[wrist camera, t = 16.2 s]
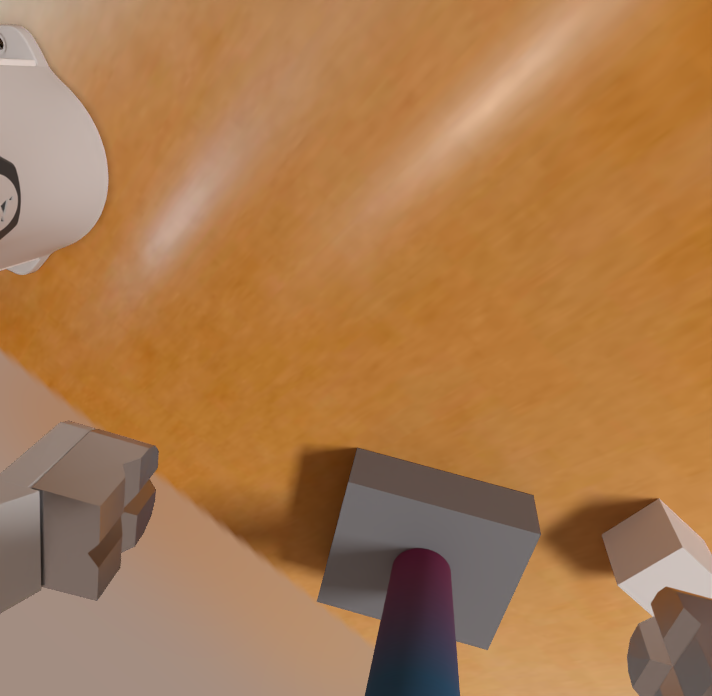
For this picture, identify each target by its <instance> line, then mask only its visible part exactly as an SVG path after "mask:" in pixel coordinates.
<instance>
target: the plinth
mask: <svg viewBox="0 0 712 696" xmlns="http://www.w3.org/2000/svg"><path fill="white" fill-rule="evenodd" d="M540 535H541V533H540V527H539V522H538V517H537V511H536V506H535V501H534V495H530V494H526V493H523V492H519V491H515V490H512V489H508V488H504V487H500V486H497V485H493V484H489V483H486V482H482V481H478V480H475V479H471V478H467V477H463V476H460V475H456V474H452V473H449V472H445V471H441V470H438V469H434V468H430V467H427V466H423V465H419V464H415V463H412V462H408V461H404V460H401V459H397V458H393V457H390V456H386V455H382V454H378V453H375V452H371V451H367V450H364V449H360V448H357V451H356V455H355V458H354V462H353V466H352V470H351V474H350V477H349V481H348V485H347V489H346V493H345V496H344V500H343V504H342V508H341V512H340V515H339V519H338V523H337V527H336V531H335V535H334V538H333V542H332V546H331V550H330V554H329V557H328V561H327V565H326V569H325V573H324V576H323V580H322V584H321V588H320V592H319V596H318V599H317V602H320V603H323V604H327V605H331V606H334V607H338V608H341V609H345V610H348V611H352V612H355V613H359V614H362V615H366V616H369V617H373V618H376V619H380V620H381V617H382V613H383V608H384V603H385V598H386V594H387V589H388V584H389V580H390V575H391V570H392V566H393V562H394V560H395V559H396V557H397V556H398V555H399V554H401V553H402V552H404V551H406V550H409V549H414V548H424V549H429V550H432V551H434V552H436V553H438V554H440V555H441V556H442V557H443V558H444V559H445V560H446V561H447V562H448V564H449V566H450V569H451V581H452V595H453V609H454V622H455V636H456V641H457V642H461V643H465V644H468V645H472V646H475V647H479V648H482V649H486V650H488V648H489V646H490V644H491V642H492V640H493V637H494V635H495V633H496V631H497V629H498V627H499V624H500V622H501V620H502V618H503V616H504V613H505V611H506V609H507V607H508V605H509V603H510V600H511V598H512V596H513V594H514V592H515V590H516V587H517V585H518V583H519V581H520V579H521V577H522V574H523V572H524V570H525V568H526V566H527V564H528V561H529V559H530V557H531V555H532V553H533V551H534V548H535V546H536V544H537V542H538V540H539V538H540Z"/></svg>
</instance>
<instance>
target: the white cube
mask: <svg viewBox="0 0 712 696" xmlns="http://www.w3.org/2000/svg"><path fill="white" fill-rule="evenodd" d="M602 538H603V541H604V544H605V548H606V551H607V554H608V557H609V560H610V563H611V566H612V570H613V573H614V576H615V579H616V582H617V585H618V586H619V587H620V588H621V589H622V590H623V591H625V592H626V593H627V594H628V595H629V596H630V597H631V598H633V599H634V600H635V601H636V602H637V603H638V604H639V605H641V606H642V607H643V608H644V609H645V610H646V611H647V612H648V613H650V614H651V615H652V616H653V617H654V613H653V610H652V607H651V602H652V601H653V599H654V597H655V596H656V594H657V593H658V592H659V591H660V590H662V589H663V588H664V587H666V586H667V587H670V588H674V589H678V590H682V591H685V592H689V593H693V594H696V595H700V596H704V597H708V598H711V599H712V554H711V553H710V551H709V549H708V547H707V545H706V543H705V541H704V540H703V539H702V538H701V537H700V536H699V535H698V534H697V533H696V532H694V531H693V530H692V529H691V528H690V527H689V526H688V525H687V524H686V523H685V522H684V521H683V520H682V519H681V518H679V517H678V516H677V515H676V514H675V513H674V512H673V511H672V510H671V509H670V508H669V507H668V506H667V505H666V504H665V503H663V502H662V501H661V500H660V499H657V500H656V501H654V502H652V503H651V504H649V505H648V506H646V507H645V508H643V509H641V510H640V511H638V512H637V513H635V514H633V515H632V516H630V517H629V518H627V519H626V520H624V521H622V522H621V523H619V524H618V525H616V526H614V527H613V528H611V529H610V530H608V531H607V532H605V533H603V534H602Z"/></svg>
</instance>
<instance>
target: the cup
mask: <svg viewBox="0 0 712 696" xmlns="http://www.w3.org/2000/svg"><path fill="white" fill-rule="evenodd" d="M365 696H460V690H459V676H458V663H457V649H456V636H455V622H454V609H453V595H452V581H451V569H450V566H449V564H448V562H447V561H446V560H445V559H444V558H443V557H442V556H441V555H440V554H438V553H436V552H434V551H432V550H429V549H424V548H414V549H409V550H406V551H404V552H402V553H401V554H399V555H398V556H397V557H396V559H395V560H394V562H393V566H392V570H391V575H390V580H389V584H388V589H387V594H386V598H385V603H384V608H383V613H382V617H381V622H380V627H379V631H378V636H377V641H376V645H375V650H374V655H373V660H372V664H371V669H370V674H369V678H368V683H367V688H366V693H365Z"/></svg>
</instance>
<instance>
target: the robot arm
mask: <svg viewBox="0 0 712 696" xmlns="http://www.w3.org/2000/svg"><path fill="white" fill-rule="evenodd" d="M0 38H1V40H2V41H3V44H4V46H3V49H2V48H1V47H0V271H1V270H4V269H7V270H9V271H12V272H14V273H16V274H20V275H25V274H29V273H33V272H35V271H37V270H38V269H39V268H40V267H41V266H42V265H43V263H44V262H45V261H46V260H47V258H48V257H49V256H50V254H51V253H53V252H54V251H56V250H58V249H61V248H64V247H66V246H69V245H71V244H73V243H75V242H77V241H78V240H80V239H81V238H82V237H84V236H85V235H86V234H87V233H88V232H89V231H90V230H91V229H92V228H93V226H94V225H95V224H96V222H97V220H98V219H99V217H100V215H101V213H102V210H103V208H104V205H105V201H106V197H107V191H108V166H107V159H106V154H105V150H104V146H103V143H102V140H101V138H100V135H99V133H98V130H97V128H96V126H95V124H94V122H93V120H92V118H91V117H90V115H89V113H88V112H87V110H86V109H85V107H84V106H83V105H82V103H81V102H80V101H79V99H78V98H77V97H76V96H75V95H74V94H73V92H72V91H71V90H70V89H69V88H68V87H67V86H66V85H65V84H64V83H63V82H62V81H61V80H60V79H59V78H58V77H57V76H56V75H55V74H54V73H53V71H52V70H51V69H50V68H49V66H48V64H47V62H46V60H45V58H44V56H43V54H42V52H41V50H40V48H39V46H38V44H37V42H36V41H35V39H34V38H33V36H32V35H31V34H30V32H29V31H28V30H27V29H25V28H24V27H22V26H19V25H6V24H0ZM158 452H159V451H158V449H157V448H156V447H155V446H154V445H151V444H147V443H144V442H141V441H137V440H134V439H131V438H127V437H124V436H121V435H117V434H114V433H111V432H107V431H104V430H100V429H95V428H92V427H89V426H85V425H82V424H79V423H75V422H72V421H65V422H60V423H59V424H58V425H56V426H55V427H54V428H53V429H52V430H51V431H49V432H48V433H47V434H46V435H45V436H44V437H42V438H41V439H40V440H39V441H38V442H37V443H35V444H34V445H33V446H32V447H31V448H30V449H28V450H27V451H26V452H25V453H24V454H23V455H21V456H20V457H19V458H18V459H17V460H16V461H14V462H13V463H12V464H11V465H10V466H9V467H8V468H6V469H5V470H4V471H3V472H2V473H1V474H0V613H2V612H4V611H5V610H7V609H9V608H11V607H13V606H14V605H16V604H18V603H20V602H21V601H23V600H25V599H26V598H28V597H30V596H32V595H34V594H35V593H37V592H39V591H41V587H45V588H49V589H53V590H56V591H60V592H64V593H68V594H72V595H76V596H80V597H84V598H88V599H91V600H95V601H97V600H98V599H99V597H100V596H101V595H102V593H103V592H104V590H105V589H106V587H107V586H108V584H109V583H110V581H111V580H112V579H113V577H114V576H115V574H116V573H117V572H118V570H119V569H120V563H121V553H122V552H124V551H126V550H128V549H130V548H133V547H134V546H135V545H136V544H137V542H138V541H139V539H140V538H141V536H142V535H143V533H144V531H145V529H146V526H147V524H148V522H149V520H150V517H151V514H152V510H153V506H154V502H155V493H156V489H155V487H154V486H153V484H152V482H151V481H150V477H151V476H152V475H153V473H154V472H155V471H156V469H157V468H158ZM651 607H652V610H653V613H654V617H652V618H650V619H647V620H645V621H643V622H641V623H639V624H638V625H637V627H636V629H635V631H634V633H633V635H632V637H631V639H630V643H629V649H628V655H627V660H628V672H629V676H630V679H631V683H632V687H633V688H634V690H635V691H636V692H637V693H638V694H639V696H712V599H711V598H708V597H704V596H700V595H696V594H693V593H689V592H685V591H682V590H678V589H674V588H670V587H667V586H666V587H664V588H663V589H662V590H660V591H659V592H658V593H657V594H656V596H655V597H654V599H653V601H652V602H651Z"/></svg>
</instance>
